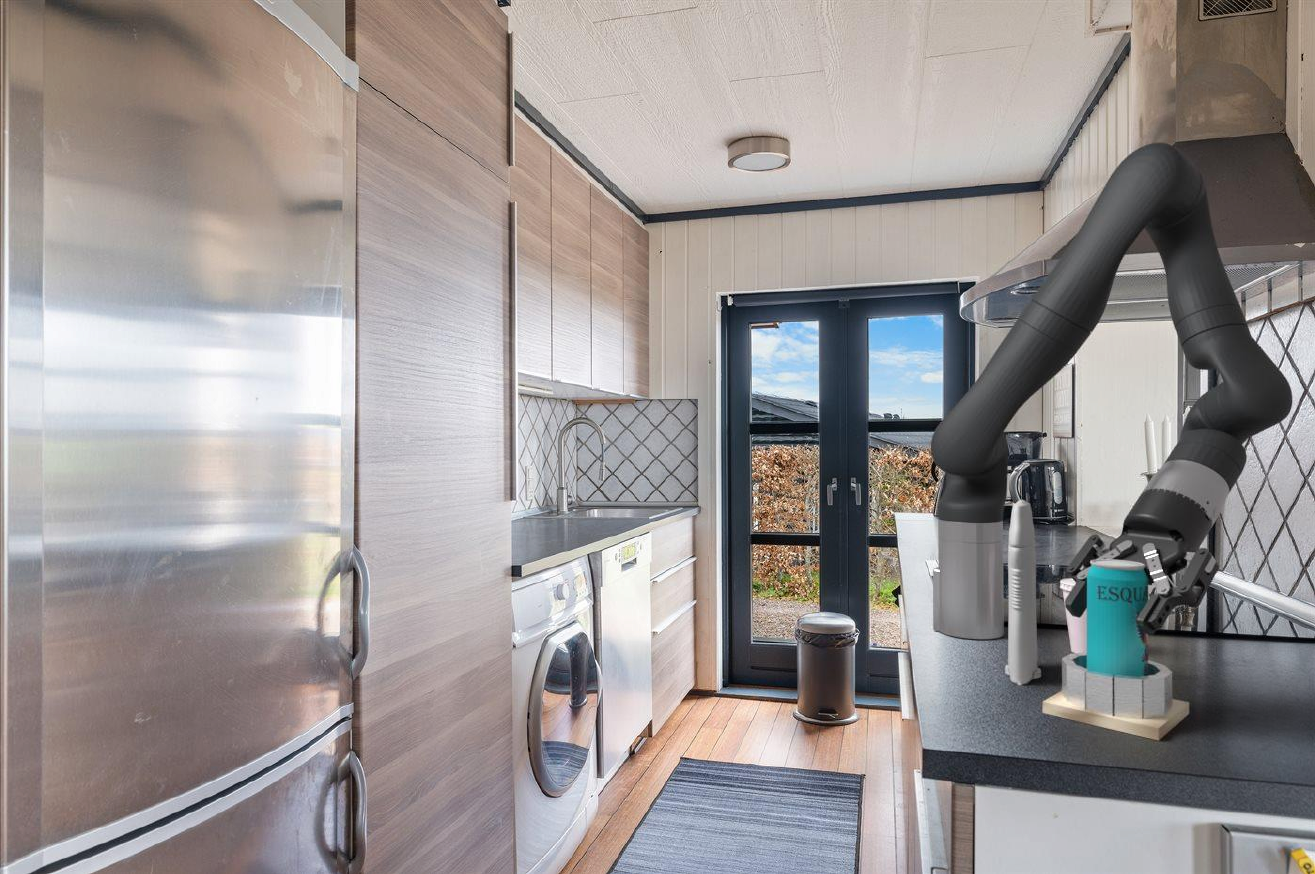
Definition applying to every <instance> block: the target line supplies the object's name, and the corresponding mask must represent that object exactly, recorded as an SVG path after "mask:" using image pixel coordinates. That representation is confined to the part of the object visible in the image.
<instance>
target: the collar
mask: <svg viewBox="0 0 1315 874" xmlns="http://www.w3.org/2000/svg"><path fill="white" fill-rule="evenodd" d="M1061 691H1062V695H1063V697H1064V698H1065V700H1066V701H1067V702H1068V703H1071V704H1073V705H1075V706H1077V707H1080V708H1082V709H1084V710H1087V711H1092V712H1096V713H1101V714H1105V715H1109V716H1115V717H1125V718H1137V719H1142V718H1143V719H1148V718H1158V717H1164V716H1167V715H1168V714H1169V713H1170V712H1171V711H1172V699H1173V671H1172V670H1171V669H1169V668H1168V667H1167V666H1166V665H1165V664H1162V663H1159V662H1156V661H1152V660H1149V659H1148V676H1138V677H1136V676H1122V675H1112V674H1107V673H1101V672H1096V671H1091V670H1089V669H1087V652H1086V653H1074V652H1073V653H1069V654H1067V655H1066V656H1064V657H1062V658H1061Z"/></svg>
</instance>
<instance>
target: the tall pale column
mask: <svg viewBox="0 0 1315 874" xmlns="http://www.w3.org/2000/svg"><path fill="white" fill-rule="evenodd" d="M1009 524H1010V526H1009V529H1008V530H1009V531H1008V547H1007V549H1008V551H1007V558H1008V559H1007V563H1008V564H1007V565H1008V566H1007V571H1008V577H1007V578H1008V625H1007V626H1008V630H1007V631H1008V636H1007V637H1008V639H1007V641H1008V642H1007V661H1008V662H1007V664H1006V665H1005V666H1004V672H1005V673H1004V674H1006V675H1008V676H1009V677H1010V682H1011V683H1012V684H1014V685H1016V686H1025V685H1028V684H1029V683H1030V682H1032V681H1033V680H1035V679H1036V680H1037V679H1039V678H1041V677H1042V670H1041V668H1039V667H1038V636H1037V635H1038V630H1037V587H1036V586H1037V566H1036V565H1037V562H1036V561H1037V559H1036V558H1037V557H1036V556H1037V554H1036V553H1037V552H1036V533H1035V525H1034V520H1033V511H1032V506H1031V503H1030V502H1028V501H1026V500H1024V499H1020V500H1018V501H1016V503H1014V504H1012V508H1011V516H1010V523H1009Z"/></svg>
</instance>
